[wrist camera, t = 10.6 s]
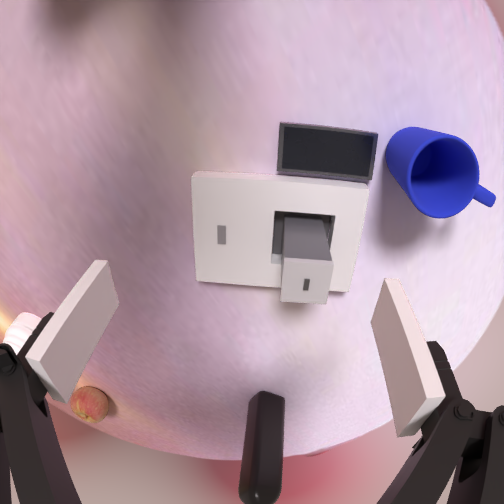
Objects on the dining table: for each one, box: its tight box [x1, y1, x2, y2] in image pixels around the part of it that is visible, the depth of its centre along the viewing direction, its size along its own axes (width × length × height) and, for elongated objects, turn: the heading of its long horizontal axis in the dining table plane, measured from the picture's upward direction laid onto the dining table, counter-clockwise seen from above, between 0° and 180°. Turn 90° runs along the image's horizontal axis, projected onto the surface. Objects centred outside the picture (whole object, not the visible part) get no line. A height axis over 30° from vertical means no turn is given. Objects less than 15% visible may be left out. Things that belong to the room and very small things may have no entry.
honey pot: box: [3, 312, 41, 355], centre depth 49 cm, size 13×13×18 cm
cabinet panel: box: [191, 171, 370, 292], centre depth 39 cm, size 14×20×3 cm
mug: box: [386, 127, 496, 218], centre depth 30 cm, size 8×12×10 cm
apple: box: [71, 386, 109, 423], centre depth 61 cm, size 9×9×8 cm
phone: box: [277, 122, 378, 180], centre depth 35 cm, size 6×11×1 cm, turn 88°
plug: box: [280, 214, 334, 304], centre depth 35 cm, size 5×5×11 cm
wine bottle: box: [238, 391, 285, 504], centre depth 45 cm, size 6×6×30 cm
